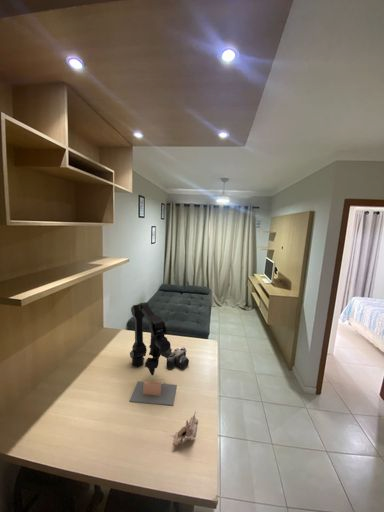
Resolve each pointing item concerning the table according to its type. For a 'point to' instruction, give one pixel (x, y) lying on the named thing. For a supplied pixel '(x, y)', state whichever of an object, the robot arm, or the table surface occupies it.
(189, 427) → the bone fragment
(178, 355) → the camera
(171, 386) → the mat
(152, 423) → the table surface
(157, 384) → the block
